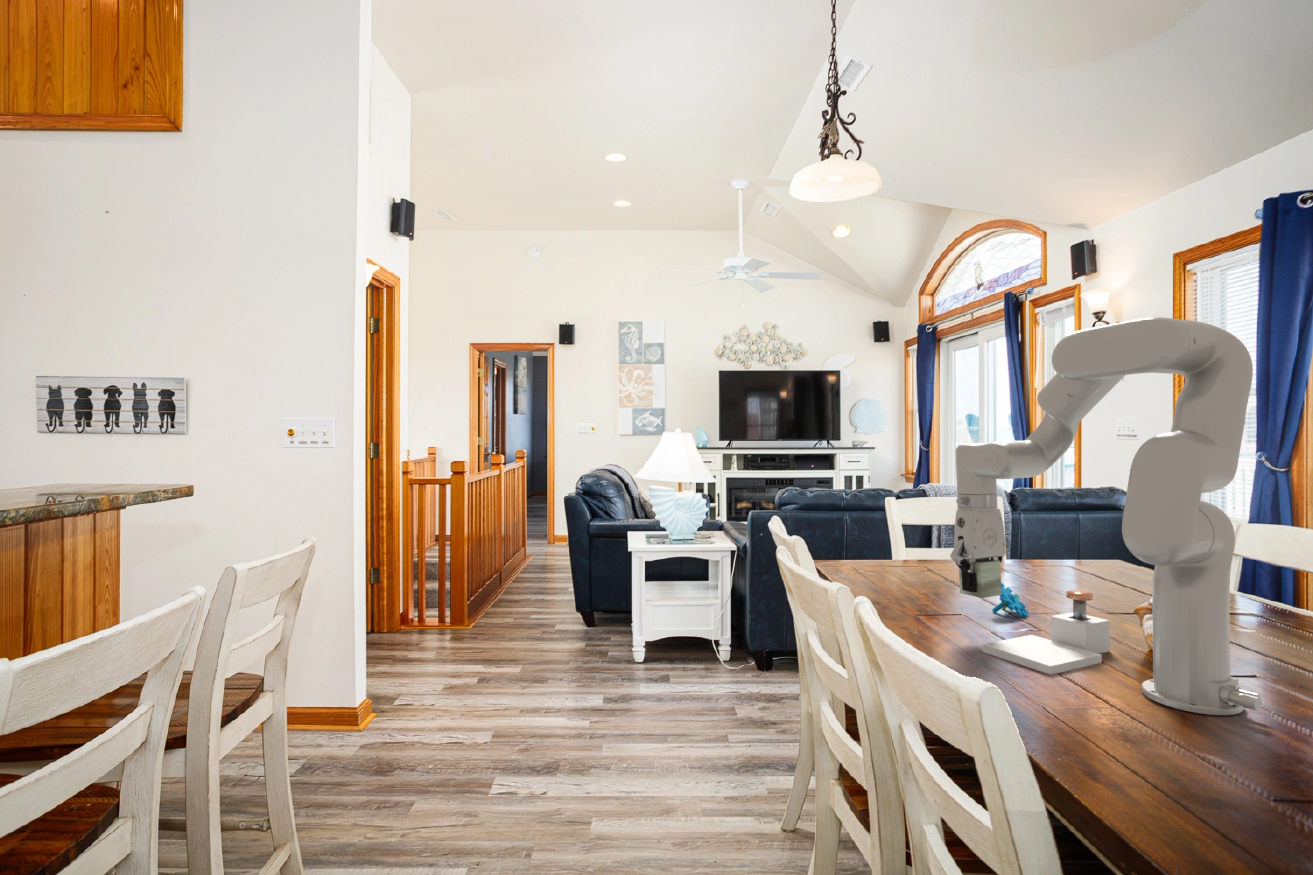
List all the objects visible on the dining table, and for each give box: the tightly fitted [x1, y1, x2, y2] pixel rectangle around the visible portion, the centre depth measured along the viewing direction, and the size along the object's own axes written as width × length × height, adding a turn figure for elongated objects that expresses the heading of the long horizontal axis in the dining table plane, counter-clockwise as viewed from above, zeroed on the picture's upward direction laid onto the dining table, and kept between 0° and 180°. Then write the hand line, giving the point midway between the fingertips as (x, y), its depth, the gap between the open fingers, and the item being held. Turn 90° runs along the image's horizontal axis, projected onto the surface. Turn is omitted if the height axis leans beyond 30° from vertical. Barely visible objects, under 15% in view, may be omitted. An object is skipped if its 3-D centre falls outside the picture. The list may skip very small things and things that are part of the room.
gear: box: [991, 582, 1029, 618], centre depth 158 cm, size 11×6×10 cm
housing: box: [958, 558, 1002, 599], centre depth 139 cm, size 6×6×7 cm
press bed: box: [982, 611, 1111, 675], centre depth 128 cm, size 14×22×6 cm, turn 114°
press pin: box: [1065, 589, 1094, 621], centre depth 131 cm, size 4×4×6 cm
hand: (980, 588), depth 139 cm, fingers closed on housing, 5 cm apart
